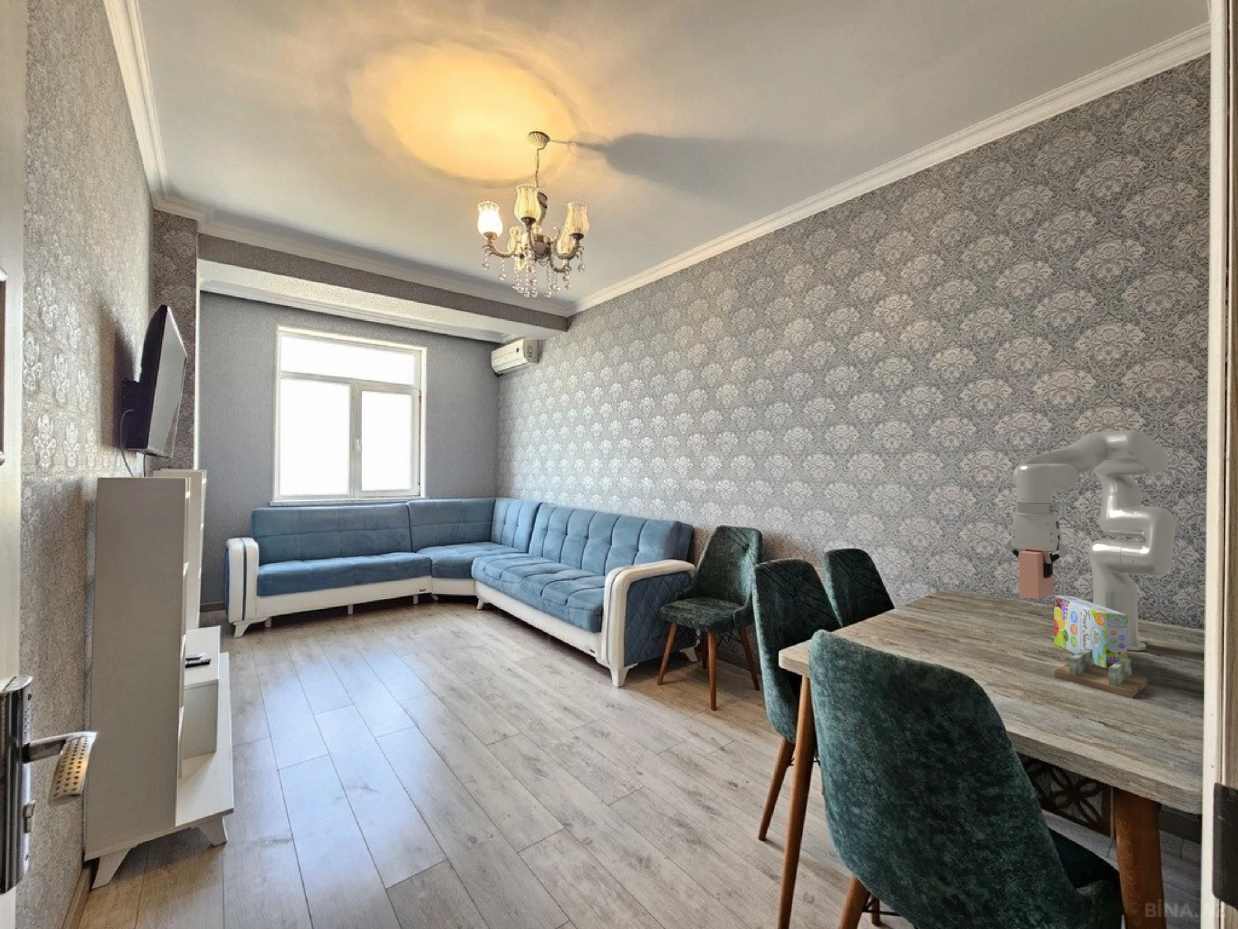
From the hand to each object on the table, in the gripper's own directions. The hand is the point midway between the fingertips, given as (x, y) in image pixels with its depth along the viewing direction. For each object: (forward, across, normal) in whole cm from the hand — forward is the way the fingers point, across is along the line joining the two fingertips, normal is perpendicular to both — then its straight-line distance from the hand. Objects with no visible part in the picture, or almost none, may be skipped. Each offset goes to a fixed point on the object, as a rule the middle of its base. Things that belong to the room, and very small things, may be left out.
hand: (1036, 575), depth 136 cm
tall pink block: (+5, 0, 0) cm, 5 cm away
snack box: (+24, -6, -17) cm, 31 cm away
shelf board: (+24, -13, +2) cm, 27 cm away
